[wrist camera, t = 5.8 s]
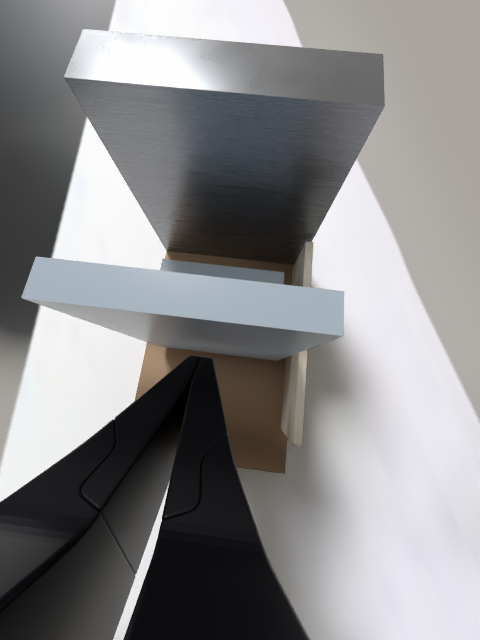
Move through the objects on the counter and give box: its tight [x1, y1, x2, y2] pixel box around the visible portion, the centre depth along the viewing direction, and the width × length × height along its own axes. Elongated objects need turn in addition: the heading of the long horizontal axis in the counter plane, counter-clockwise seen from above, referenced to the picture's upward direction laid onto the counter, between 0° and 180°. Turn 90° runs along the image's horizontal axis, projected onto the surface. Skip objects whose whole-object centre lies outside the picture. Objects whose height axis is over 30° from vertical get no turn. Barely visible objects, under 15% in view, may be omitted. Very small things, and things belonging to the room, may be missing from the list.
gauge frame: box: [135, 242, 313, 474], centre depth 14 cm, size 14×9×5 cm, turn 173°
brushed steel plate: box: [64, 29, 385, 265], centre depth 11 cm, size 2×9×10 cm, turn 83°
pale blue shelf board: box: [22, 257, 344, 361], centre depth 10 cm, size 4×9×9 cm, turn 83°
